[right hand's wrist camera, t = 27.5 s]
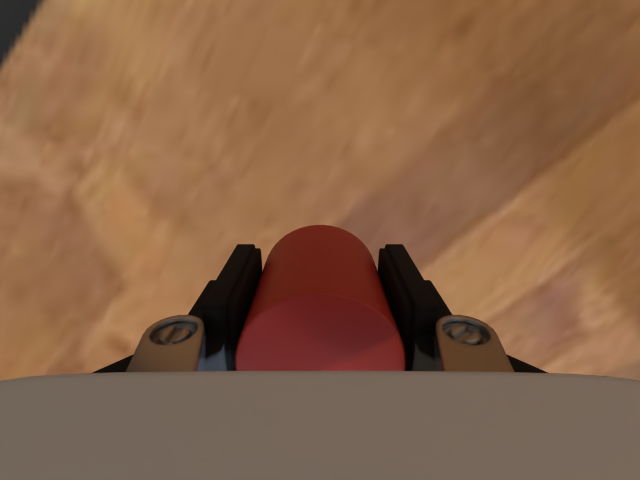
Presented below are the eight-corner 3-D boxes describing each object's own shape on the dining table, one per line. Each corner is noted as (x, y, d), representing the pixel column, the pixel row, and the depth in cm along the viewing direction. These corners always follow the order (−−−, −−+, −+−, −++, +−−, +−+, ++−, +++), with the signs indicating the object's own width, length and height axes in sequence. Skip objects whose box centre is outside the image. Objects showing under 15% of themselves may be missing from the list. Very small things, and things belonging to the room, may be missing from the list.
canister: (246, 245, 12) (204, 324, 8) (356, 208, 11) (379, 269, 7) (288, 336, 13) (273, 448, 9) (388, 307, 13) (424, 408, 8)
